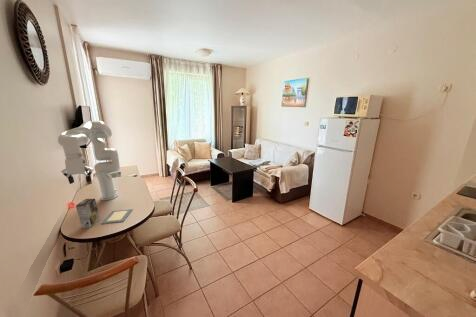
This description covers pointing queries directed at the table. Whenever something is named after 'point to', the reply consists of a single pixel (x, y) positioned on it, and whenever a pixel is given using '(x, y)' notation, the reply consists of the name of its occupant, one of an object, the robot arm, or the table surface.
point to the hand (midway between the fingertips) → (80, 182)
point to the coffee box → (88, 213)
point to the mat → (117, 216)
